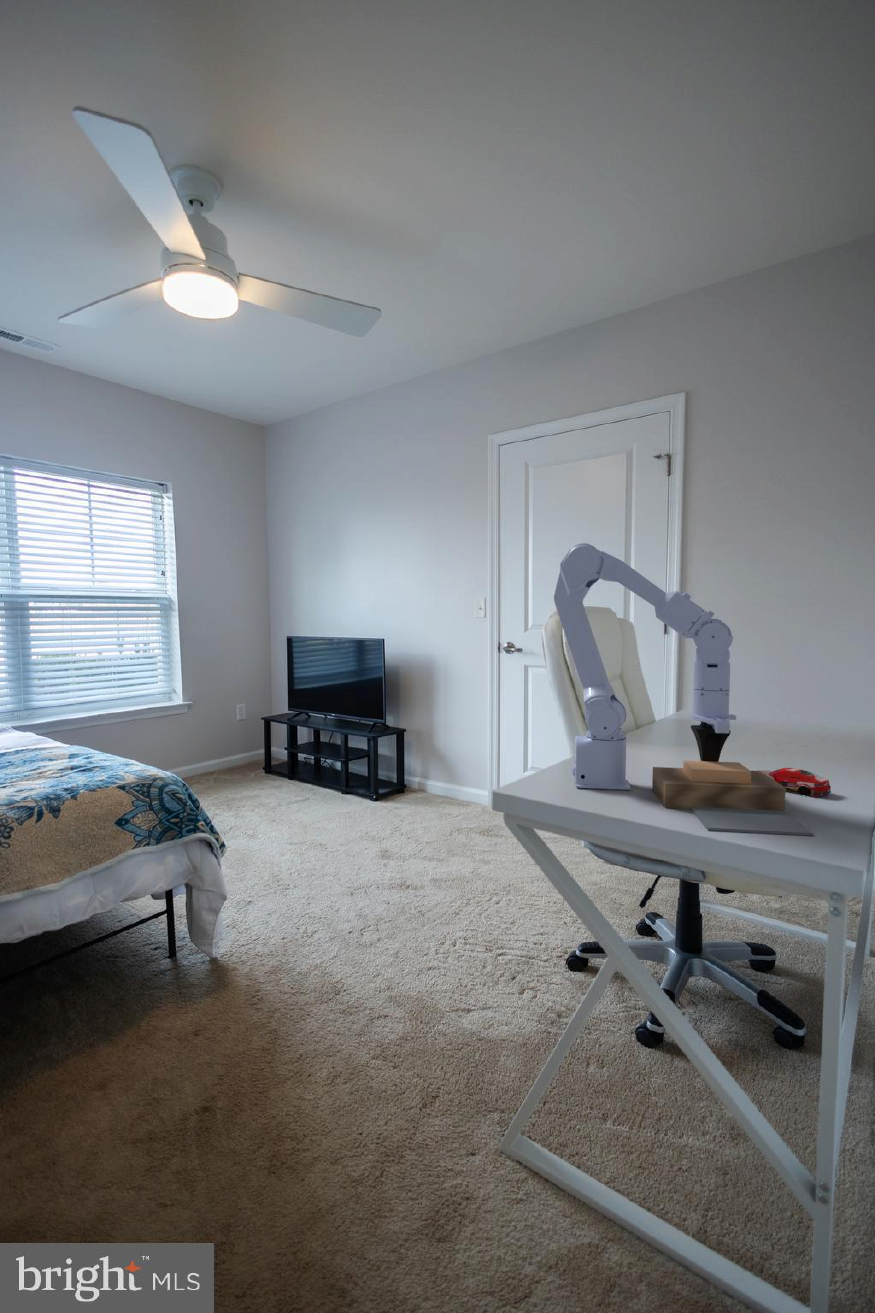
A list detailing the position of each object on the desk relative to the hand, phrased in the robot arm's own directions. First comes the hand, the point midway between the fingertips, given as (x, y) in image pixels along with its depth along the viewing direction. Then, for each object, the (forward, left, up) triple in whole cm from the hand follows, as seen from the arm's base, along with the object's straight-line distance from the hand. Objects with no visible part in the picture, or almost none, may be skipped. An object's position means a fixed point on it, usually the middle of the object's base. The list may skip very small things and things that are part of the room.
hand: (709, 767), depth 106 cm
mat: (+2, -14, -5) cm, 15 cm away
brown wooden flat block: (0, -3, -5) cm, 6 cm away
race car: (+15, +6, -5) cm, 17 cm away
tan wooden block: (0, -4, -1) cm, 4 cm away
